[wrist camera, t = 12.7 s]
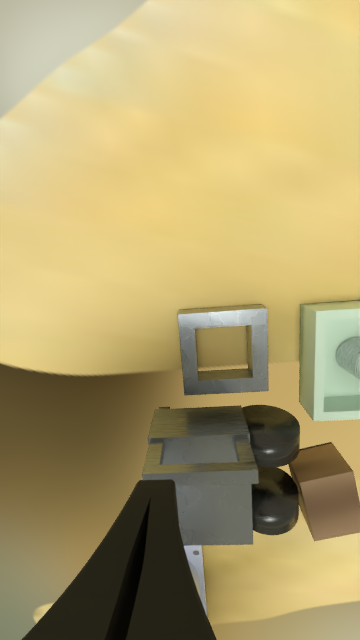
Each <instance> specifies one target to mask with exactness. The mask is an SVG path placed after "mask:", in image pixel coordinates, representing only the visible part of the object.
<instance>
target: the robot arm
mask: <svg viewBox="0 0 360 640" xmlns="http://www.w3.org/2000/svg"><path fill="white" fill-rule="evenodd" d="M22 640H216V637H215V635H214V632H213V630H212V627H211V625H210V623H209V620H208V618H207V606H206V593H205V580H204V568H203V555H202V545H189V546H184V545H183V541H182V537H181V533H180V528H179V517H178V507H177V497H176V487H175V482H174V481H173V480H172V479H166V480H140V481H139V482H138V483H137V484H136V486H135V488H134V490H133V492H132V494H131V495H130V497H129V499H128V501H127V502H126V504H125V506H124V508H123V509H122V511H121V513H120V514H119V516H118V517H117V519H116V520H115V522H114V524H113V525H112V527H111V528H110V530H109V532H108V533H107V535H106V536H105V538H104V539H103V541H102V542H101V543H100V545H99V546H98V548H97V549H96V550H95V552H94V554H93V555H92V556H91V558H90V559H89V560H88V562H87V563H86V564H85V566H84V567H83V568H82V570H81V571H80V573H79V574H78V575H77V576H76V578H75V579H74V580H73V581H72V583H71V584H70V585H69V586H68V588H67V589H66V590H65V592H64V593H63V594H62V595H61V596H60V597H59V598H58V600H57V601H56V602H55V603H54V604H53V605H52V607H51V608H50V609H49V610H48V611H47V612H46V614H45V615H44V616H43V617H42V618H41V619H40V620H39V621H38V623H37V624H36V625H35V626H34V627H33V628H32V629H31V630H30V631H29V633H28V634H27V635H26V636H25V637H24V638H23V639H22Z"/></svg>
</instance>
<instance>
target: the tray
mask: <svg viewBox="0 0 360 640" xmlns="http://www.w3.org/2000/svg"><path fill="white" fill-rule="evenodd" d="M353 337H360V300H356V301H342V302H327V303H313V304H300V380H299V381H300V382H299V384H300V385H299V402H300V403H301V405H302V406H303V408H304V409H305V410H306V412H307V413H308V414H309V415H310V417H311V418H312V420H313V421H329V420H350V419H351V420H352V419H360V380H359V379H357V378H356V377H354V376H353V375H351V374H350V373H349V372H347V371H346V370H344V369H343V368H342V367H340V366H339V364H338V362H337V359H336V354H337V351H338V348H339V347H340V345H341V344H342V343H343V342H344V341H346V340H348V339H350V338H353Z"/></svg>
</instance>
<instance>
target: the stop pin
mask: <svg viewBox="0 0 360 640" xmlns="http://www.w3.org/2000/svg"><path fill="white" fill-rule="evenodd" d="M336 359H337V362H338V364H339V366H340V367H342V368H343V369H344V370H346V371H347V372H349V373H350V374H351V375H353V376H354V377H356V378H357V379H359V380H360V337H353V338H350V339H348V340H346V341H344V342H343V343H342V344H341V345H340V347H339V348H338V351H337V354H336Z"/></svg>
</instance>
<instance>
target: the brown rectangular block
mask: <svg viewBox="0 0 360 640" xmlns="http://www.w3.org/2000/svg"><path fill="white" fill-rule="evenodd" d="M288 465H289V469H290V472H291V476H292V479H293V480H294V481H295V483H296V485H297V487H298V491H299V506H300V508H301V511H302V513H303V515H304V518H305V520H306V522H307V525H308V527H309V530H310V532H311V534H312V537H313V539H314V541H318V540H323V539H328V538H333V537H339V536H344V535H349V534H354V533H359V532H360V502H359V497H358V492H357V487H356V483H355V478H354V473H353V470H352V469H351V468H350V466H349V465H348V464H347V462H346V461H345V460H344V458H343V457H342V456H341V454H340V453H339V452H338V450H337V449H336V448H335V446H334V445H333V444H332V442H328V443H324V444H320V445H315V446H311V447H307V448H302V449H299V454H298V456H297V458H296V459H295V460H294V461H292V462H291V463H289V464H288Z"/></svg>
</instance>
